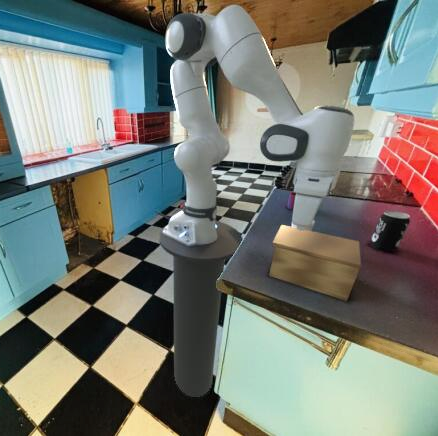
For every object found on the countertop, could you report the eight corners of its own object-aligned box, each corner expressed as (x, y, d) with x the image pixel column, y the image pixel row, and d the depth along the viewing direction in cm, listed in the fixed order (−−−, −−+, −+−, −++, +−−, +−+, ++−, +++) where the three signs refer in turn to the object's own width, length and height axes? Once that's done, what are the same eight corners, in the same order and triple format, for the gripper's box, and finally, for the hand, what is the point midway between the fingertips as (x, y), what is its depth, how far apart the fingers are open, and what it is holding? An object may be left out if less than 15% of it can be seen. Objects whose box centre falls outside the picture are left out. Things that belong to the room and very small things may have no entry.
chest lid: (271, 245, 64) (272, 242, 64) (280, 227, 73) (281, 224, 73) (359, 268, 54) (361, 265, 53) (358, 244, 63) (359, 241, 62)
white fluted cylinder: (314, 240, 84) (320, 222, 81) (296, 242, 83) (300, 224, 80) (302, 231, 90) (306, 214, 87) (284, 233, 90) (288, 216, 87)
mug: (303, 206, 111) (306, 192, 108) (304, 214, 103) (307, 199, 100) (287, 204, 114) (290, 191, 111) (286, 212, 106) (289, 198, 103)
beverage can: (389, 254, 74) (405, 220, 69) (365, 245, 79) (377, 212, 74) (400, 249, 76) (416, 215, 71) (376, 240, 82) (389, 208, 77)
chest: (269, 275, 68) (275, 246, 64) (278, 255, 77) (284, 228, 73) (346, 301, 58) (359, 268, 54) (346, 274, 67) (358, 244, 63)
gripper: (305, 168, 67) (293, 212, 73) (293, 187, 53) (280, 240, 59) (332, 170, 64) (318, 216, 70) (328, 192, 49) (310, 248, 55)
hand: (301, 228), depth 64 cm, fingers closed
